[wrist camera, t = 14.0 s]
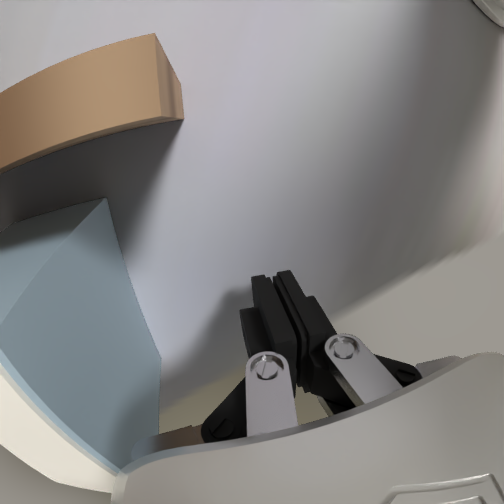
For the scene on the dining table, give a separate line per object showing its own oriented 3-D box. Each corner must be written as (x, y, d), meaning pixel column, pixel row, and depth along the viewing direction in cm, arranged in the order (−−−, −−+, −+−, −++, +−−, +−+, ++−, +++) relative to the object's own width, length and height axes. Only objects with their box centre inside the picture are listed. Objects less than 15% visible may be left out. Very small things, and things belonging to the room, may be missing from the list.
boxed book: (106, 196, 11) (-11, 344, 3) (161, 357, 15) (160, 498, 8) (12, 223, 10) (-95, 336, 2) (80, 362, 15) (54, 482, 7)
